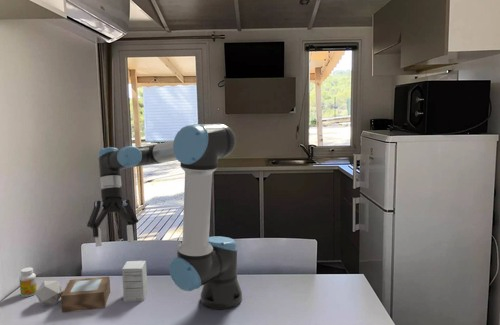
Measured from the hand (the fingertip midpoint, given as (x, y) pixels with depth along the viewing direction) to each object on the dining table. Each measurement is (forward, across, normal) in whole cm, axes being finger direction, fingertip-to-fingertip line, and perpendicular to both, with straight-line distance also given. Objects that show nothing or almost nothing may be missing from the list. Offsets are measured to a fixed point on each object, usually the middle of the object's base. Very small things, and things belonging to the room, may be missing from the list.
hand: (115, 244), depth 146 cm
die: (+18, +16, -18) cm, 30 cm away
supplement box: (+20, -5, +3) cm, 21 cm away
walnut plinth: (+19, +8, -8) cm, 22 cm away
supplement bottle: (+15, +18, -31) cm, 39 cm away
